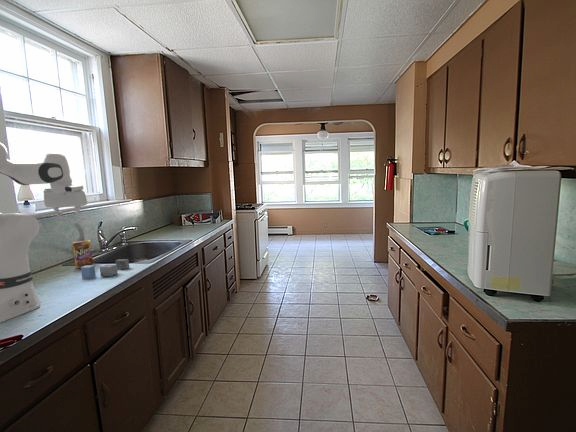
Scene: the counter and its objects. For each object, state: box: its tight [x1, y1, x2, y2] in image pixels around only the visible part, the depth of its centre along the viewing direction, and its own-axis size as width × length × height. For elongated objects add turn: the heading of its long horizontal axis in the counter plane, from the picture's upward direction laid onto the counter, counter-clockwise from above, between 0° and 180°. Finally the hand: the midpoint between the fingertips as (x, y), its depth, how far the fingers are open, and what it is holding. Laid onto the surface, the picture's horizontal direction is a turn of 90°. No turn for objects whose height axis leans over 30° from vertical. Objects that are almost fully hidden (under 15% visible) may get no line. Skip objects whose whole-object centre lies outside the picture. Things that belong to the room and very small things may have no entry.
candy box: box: [72, 239, 94, 270], centre depth 187 cm, size 9×4×15 cm, turn 123°
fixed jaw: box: [115, 258, 130, 270], centre depth 180 cm, size 3×6×5 cm, turn 83°
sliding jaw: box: [99, 263, 118, 277], centre depth 169 cm, size 6×6×5 cm
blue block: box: [80, 264, 97, 280], centre depth 167 cm, size 4×5×6 cm
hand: (68, 215), depth 156 cm, fingers open, 8 cm apart
